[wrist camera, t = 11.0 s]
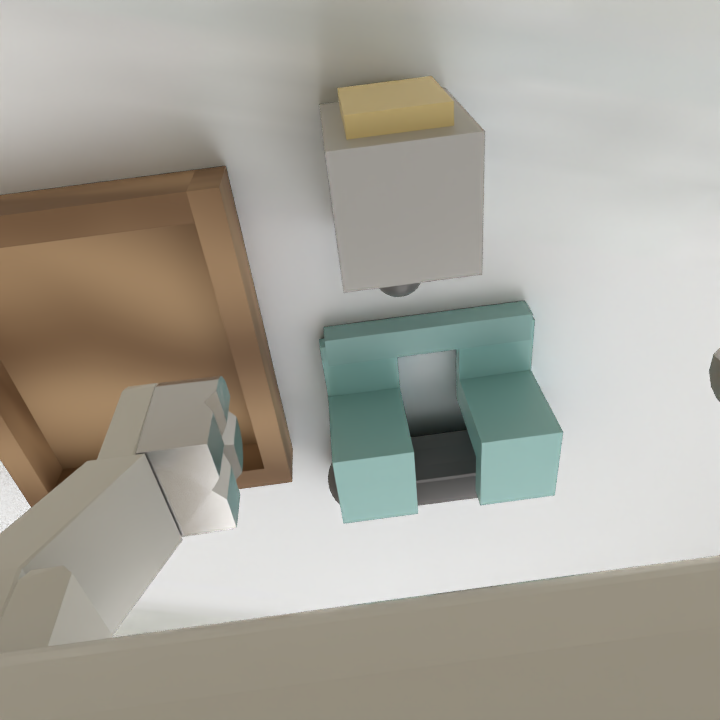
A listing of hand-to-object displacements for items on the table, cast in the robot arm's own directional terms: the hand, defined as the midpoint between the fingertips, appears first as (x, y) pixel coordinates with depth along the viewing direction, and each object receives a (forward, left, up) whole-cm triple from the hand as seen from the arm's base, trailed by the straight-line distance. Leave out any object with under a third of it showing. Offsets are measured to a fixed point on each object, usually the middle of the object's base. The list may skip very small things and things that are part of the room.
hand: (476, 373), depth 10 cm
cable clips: (-10, -1, -12) cm, 16 cm away
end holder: (-6, +11, -12) cm, 18 cm away
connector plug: (0, 0, -12) cm, 12 cm away
